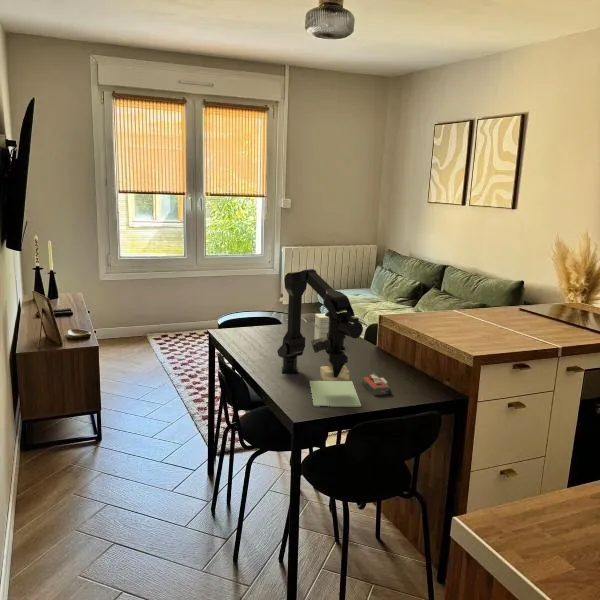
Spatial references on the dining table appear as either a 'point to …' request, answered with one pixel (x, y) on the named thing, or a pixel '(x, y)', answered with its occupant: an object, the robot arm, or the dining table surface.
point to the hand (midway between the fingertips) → (334, 373)
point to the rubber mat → (334, 394)
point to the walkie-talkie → (376, 385)
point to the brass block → (328, 373)
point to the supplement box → (321, 325)
